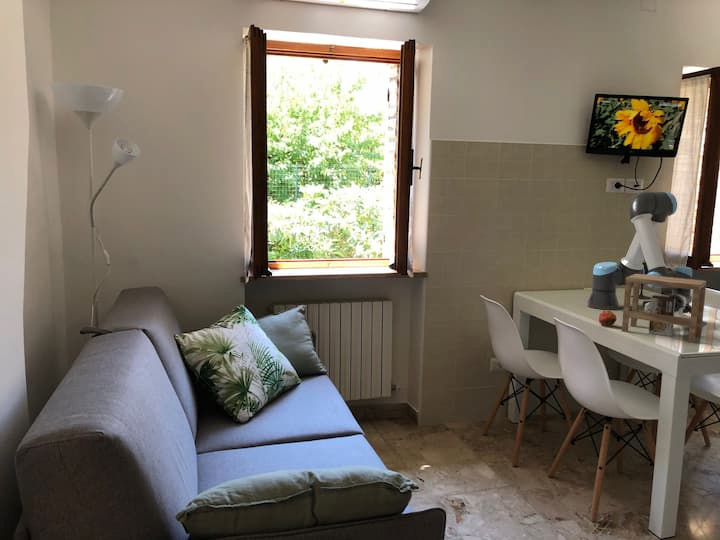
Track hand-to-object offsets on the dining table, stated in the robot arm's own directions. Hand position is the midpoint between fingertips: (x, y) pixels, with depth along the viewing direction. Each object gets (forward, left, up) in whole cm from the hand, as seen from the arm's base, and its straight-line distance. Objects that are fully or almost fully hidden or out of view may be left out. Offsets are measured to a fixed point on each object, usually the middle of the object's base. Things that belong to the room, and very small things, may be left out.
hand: (662, 309), depth 249 cm
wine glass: (-15, +86, -11) cm, 88 cm away
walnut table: (0, 0, -10) cm, 11 cm away
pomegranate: (-22, +2, -11) cm, 24 cm away
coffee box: (0, 0, -11) cm, 11 cm away
